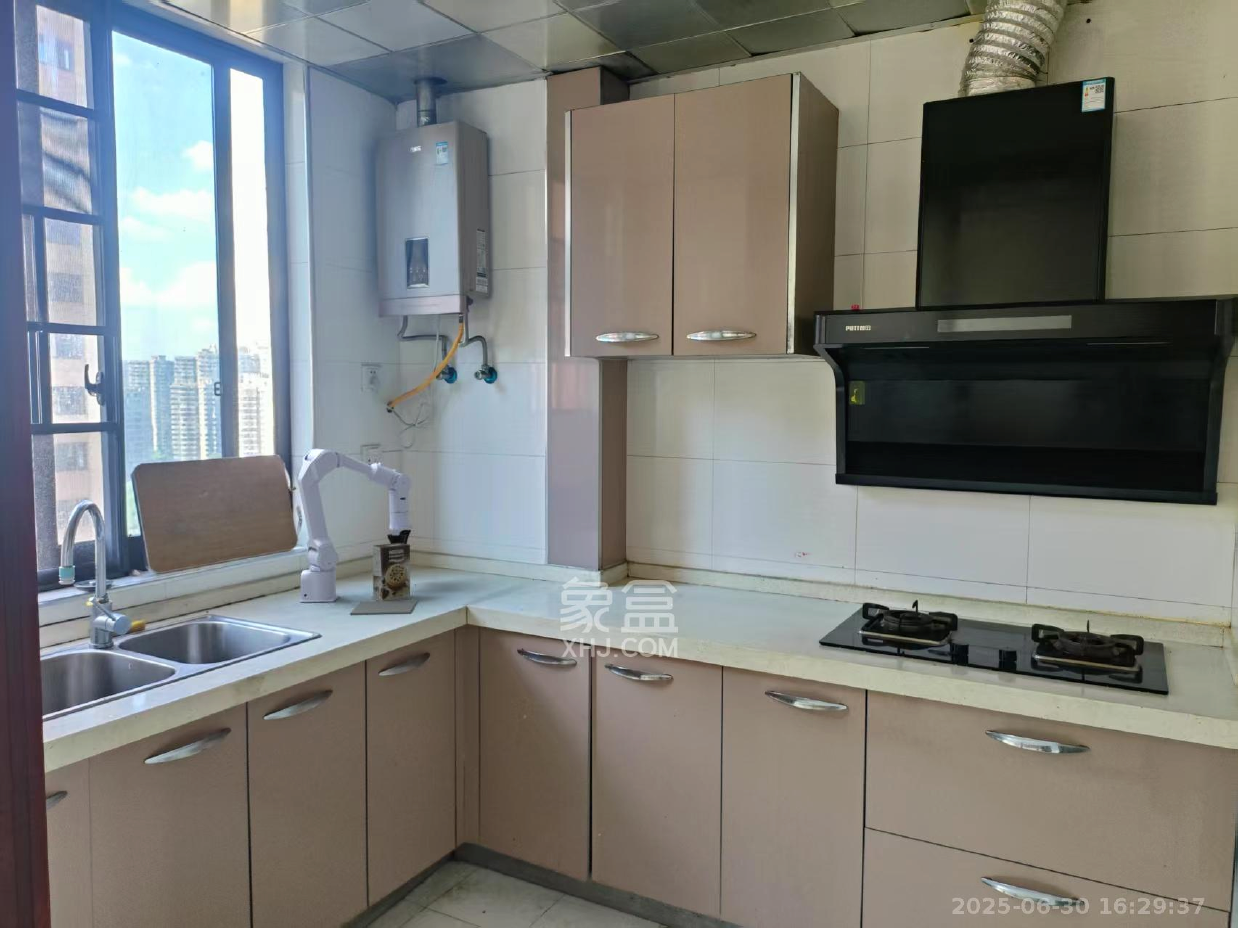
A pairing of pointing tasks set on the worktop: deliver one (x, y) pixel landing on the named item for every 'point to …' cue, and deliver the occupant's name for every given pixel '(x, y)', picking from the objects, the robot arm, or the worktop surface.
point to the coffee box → (391, 572)
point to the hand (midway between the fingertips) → (399, 555)
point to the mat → (384, 607)
